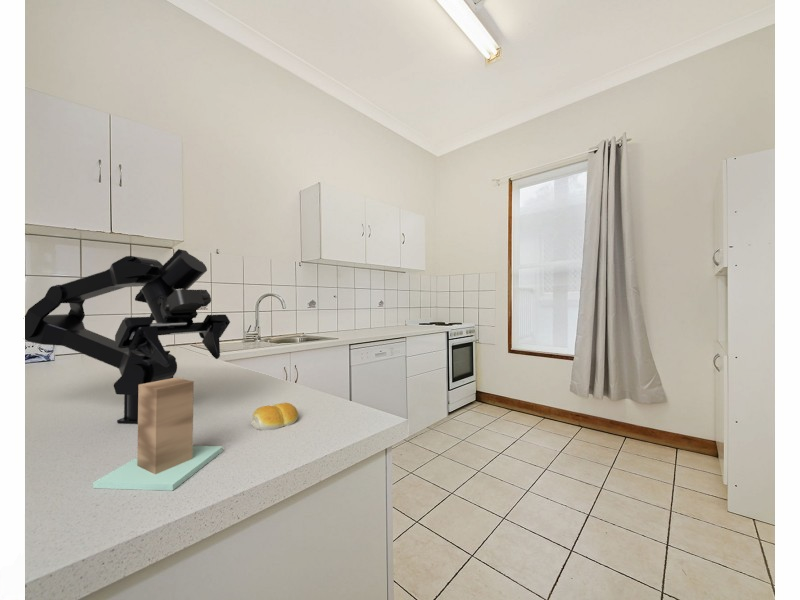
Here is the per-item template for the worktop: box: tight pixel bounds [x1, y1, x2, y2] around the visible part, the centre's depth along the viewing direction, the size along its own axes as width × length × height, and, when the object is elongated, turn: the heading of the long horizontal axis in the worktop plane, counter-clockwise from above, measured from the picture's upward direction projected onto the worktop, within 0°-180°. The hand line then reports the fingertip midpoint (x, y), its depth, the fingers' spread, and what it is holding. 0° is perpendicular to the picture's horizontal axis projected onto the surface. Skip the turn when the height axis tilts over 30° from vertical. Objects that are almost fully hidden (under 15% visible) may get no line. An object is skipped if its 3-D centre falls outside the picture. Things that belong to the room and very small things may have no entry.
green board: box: [92, 445, 224, 492], centre depth 47 cm, size 11×11×1 cm
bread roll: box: [250, 402, 299, 431], centre depth 66 cm, size 8×9×4 cm
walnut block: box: [136, 377, 195, 474], centre depth 47 cm, size 5×5×12 cm
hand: (194, 361), depth 60 cm, fingers open, 9 cm apart
